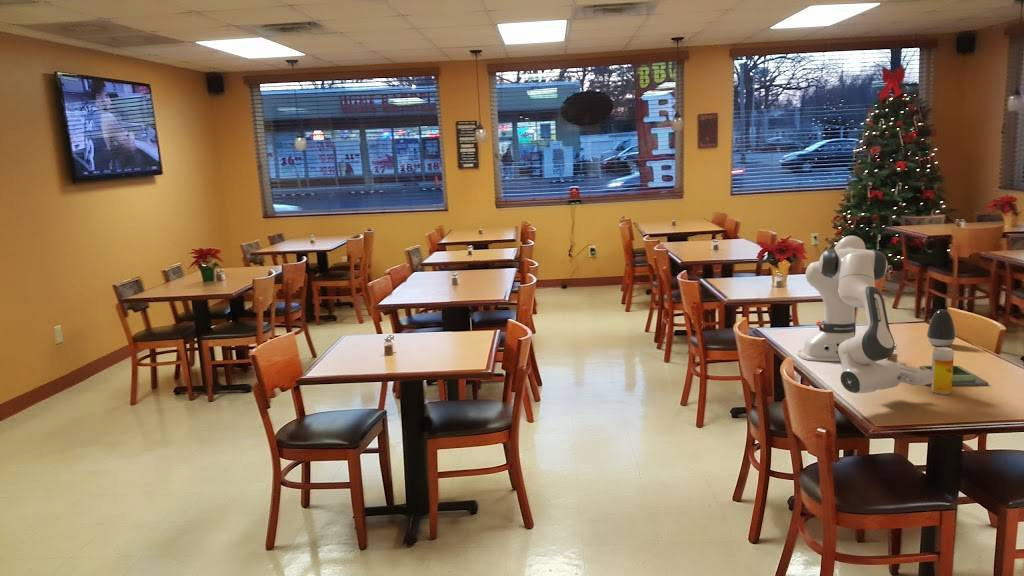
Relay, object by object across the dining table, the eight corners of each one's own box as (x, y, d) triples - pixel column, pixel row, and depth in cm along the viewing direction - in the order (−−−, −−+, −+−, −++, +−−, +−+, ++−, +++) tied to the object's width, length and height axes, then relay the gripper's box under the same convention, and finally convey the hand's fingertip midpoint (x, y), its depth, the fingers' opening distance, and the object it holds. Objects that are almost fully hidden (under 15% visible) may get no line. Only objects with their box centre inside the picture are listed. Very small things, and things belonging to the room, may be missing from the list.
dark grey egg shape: (951, 342, 309) (953, 307, 306) (957, 348, 299) (959, 312, 296) (924, 341, 312) (926, 306, 309) (929, 347, 302) (931, 311, 300)
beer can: (954, 395, 244) (956, 351, 241) (934, 394, 245) (936, 351, 242) (947, 389, 250) (949, 346, 247) (928, 389, 251) (930, 346, 248)
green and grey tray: (926, 385, 254) (926, 377, 254) (907, 372, 270) (907, 364, 270) (988, 385, 252) (988, 376, 251) (965, 372, 267) (966, 364, 267)
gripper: (915, 372, 226) (946, 366, 231) (860, 358, 244) (890, 352, 250) (914, 392, 227) (945, 385, 232) (860, 376, 245) (890, 370, 251)
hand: (916, 368), depth 241 cm, fingers open, 8 cm apart
